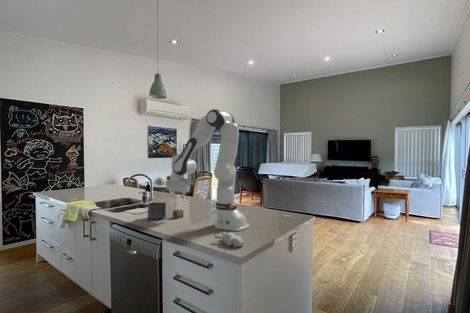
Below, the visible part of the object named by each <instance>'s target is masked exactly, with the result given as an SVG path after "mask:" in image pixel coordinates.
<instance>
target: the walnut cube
mask: <svg viewBox="0 0 470 313" xmlns="http://www.w3.org/2000/svg"><path fill="white" fill-rule="evenodd" d="M172 218H173V219H178V220H179V219H181V218H184V210H183V209H175V210H172Z"/></svg>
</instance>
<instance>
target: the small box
mask: <svg viewBox="0 0 470 313" xmlns="http://www.w3.org/2000/svg"><path fill="white" fill-rule="evenodd" d="M166 204H167V203H166V202H150V203H148V204H147V220H156V221H157V220H159V221H160V220H161V221H163V220H164V219H166V218H167V217H166V216H167V215H166V212H167V211H166V210H167V209H166V207H167V206H166Z"/></svg>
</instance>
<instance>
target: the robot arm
mask: <svg viewBox="0 0 470 313" xmlns="http://www.w3.org/2000/svg"><path fill="white" fill-rule="evenodd" d="M216 129H218V130H219V129H220V133H221V135H220V142H219V150H218V156H217V158H216V163H215V167H214V170H213V175H214V178H215V179H216V180H217V186H216V187H217V188H216V202H215V208H216V210H215V212H216V213H215V219H214V223H213V226H214V228H215V229H218V230H219V229H220V230H224V231H225V230H226V231H234V232H240V231H245V230H247V229H249V228H250V227H251V226H250V223H247V221H246V216H245V215H244V214H243V213H242V212H241V211H240V210H239V209H238V205H239V204H238V203H236V202H235V187H236V177H237V176H236V174H237V168H236V166H235V162H236V157H237V154H238V147H239V138H240V132H239V131H240V130H239V125H238V124H236V122H235V118H234V116H233V115H232V114H231V113H229V112H227V111H225V110H219V109H215V108H214V109H210V110H209V111H207V114H206V115H203V116H202V118H200V120H199V122H198V124H197V126H196V128H195V130H194V132H193V134H192V136H190V138H189V139H188V141H187V142H186V144H185V145H184V147H183V149H182V150H181V153H180V154H174V155H173V156H172V157H171V173H170V175H168V176H166V177H165V180H166V181H165V189H166V190H168V191H169V192H170V194H171V196H170V197H172V198H174V197H175V196H176V194H174V193H175V192H181V195H180V199H185V195H186V193H190V190H191V188H190V187H191V186H190V180H189V179H188V178H185V175H189V174H194V173H195V172H196V171H197V168H198V164H197V162H196V161H195V160H194V159H191V157H192V155H193V153H194V151H195V150H197V149H199V148H201V147H203V146H206V144H208V142H209V141H210V139H211V138H212V135H213V133H214V132H215V130H216Z"/></svg>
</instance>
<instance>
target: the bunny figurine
mask: <svg viewBox="0 0 470 313" xmlns="http://www.w3.org/2000/svg"><path fill="white" fill-rule="evenodd" d="M221 234H222V235H220V234H214V239H219V240H221V241H222V243H223V244H224V245H226V246H228V247H229V246H232V247H233V248H239V247H241V246H243V245H244V244H245V241H244V240H243V239H242V236H241V235H240V236H239V235H236V234H235V233H233V232H226V231H222V232H221Z"/></svg>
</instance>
